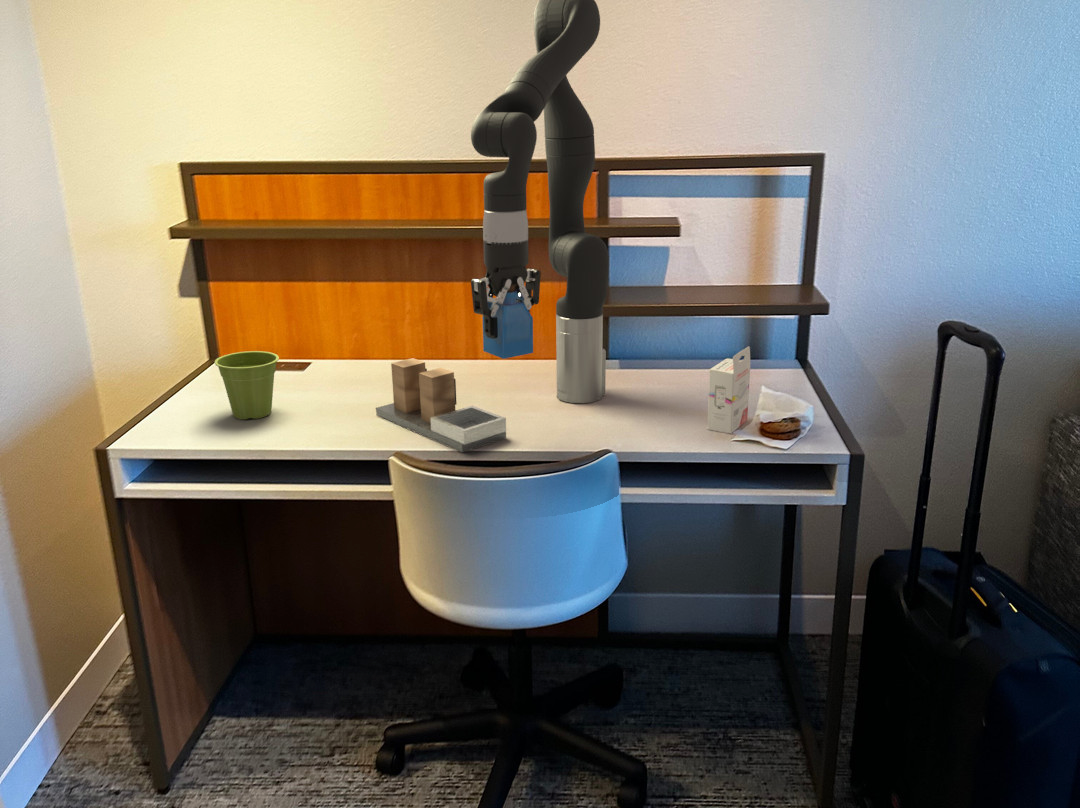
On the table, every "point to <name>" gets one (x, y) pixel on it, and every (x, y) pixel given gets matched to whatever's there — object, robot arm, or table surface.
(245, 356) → the plant pot
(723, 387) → the ink cartridge box
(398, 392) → the walnut finger rear
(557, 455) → the table surface
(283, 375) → the table surface
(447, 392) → the walnut finger front
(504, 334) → the perfume bottle
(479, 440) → the grey rectangular tray
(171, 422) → the table surface
